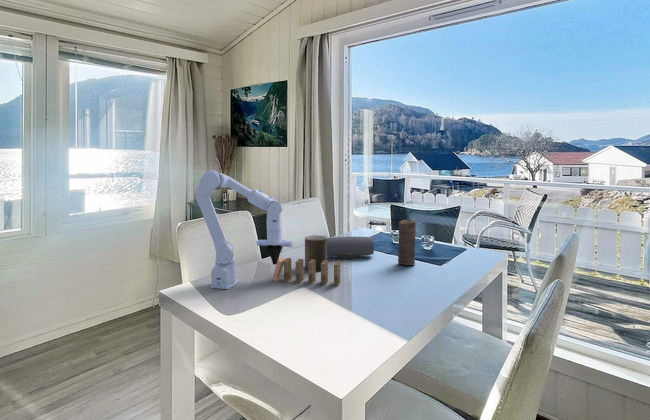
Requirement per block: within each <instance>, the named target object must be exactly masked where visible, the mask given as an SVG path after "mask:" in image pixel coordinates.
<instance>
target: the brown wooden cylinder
mask: <svg viewBox="0 0 650 420" xmlns="http://www.w3.org/2000/svg"><path fill="white" fill-rule="evenodd" d="M416 223H417V221H416V220H413V219H408V220H407V219H405V220H404V219H402V220H400V221H399V223H398V226H399V227H398V248H397V251H398V252H397V253H398V254H397V256H398V257H397V263H398V264H400V265H403V266H410V265H412V266H414V265H416V228H417V225H416Z"/></svg>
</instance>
